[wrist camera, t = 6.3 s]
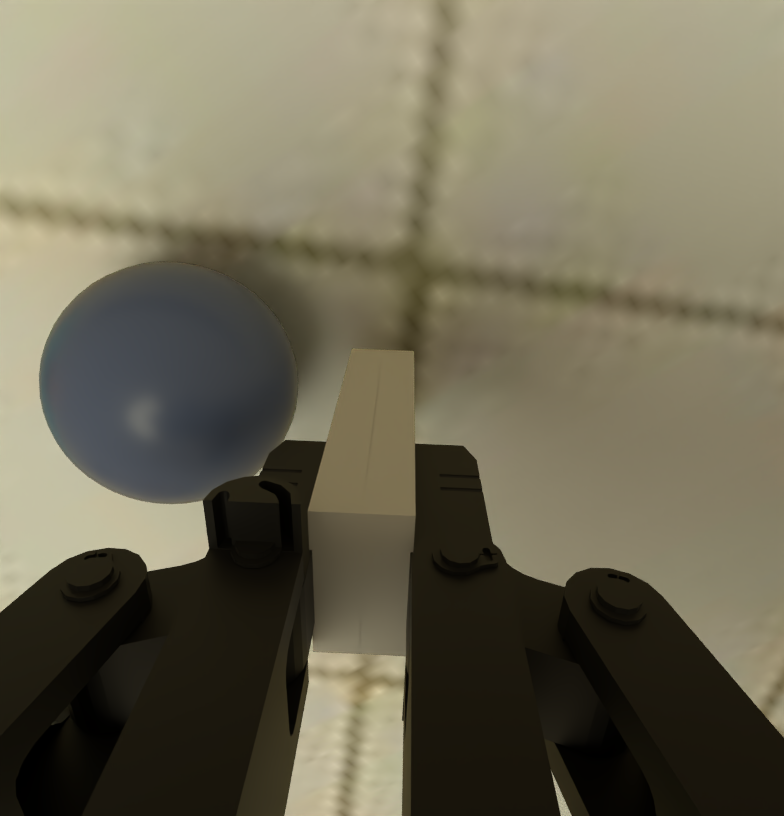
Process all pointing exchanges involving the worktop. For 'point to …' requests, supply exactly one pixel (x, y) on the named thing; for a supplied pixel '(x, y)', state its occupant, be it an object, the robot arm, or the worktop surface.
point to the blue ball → (168, 382)
